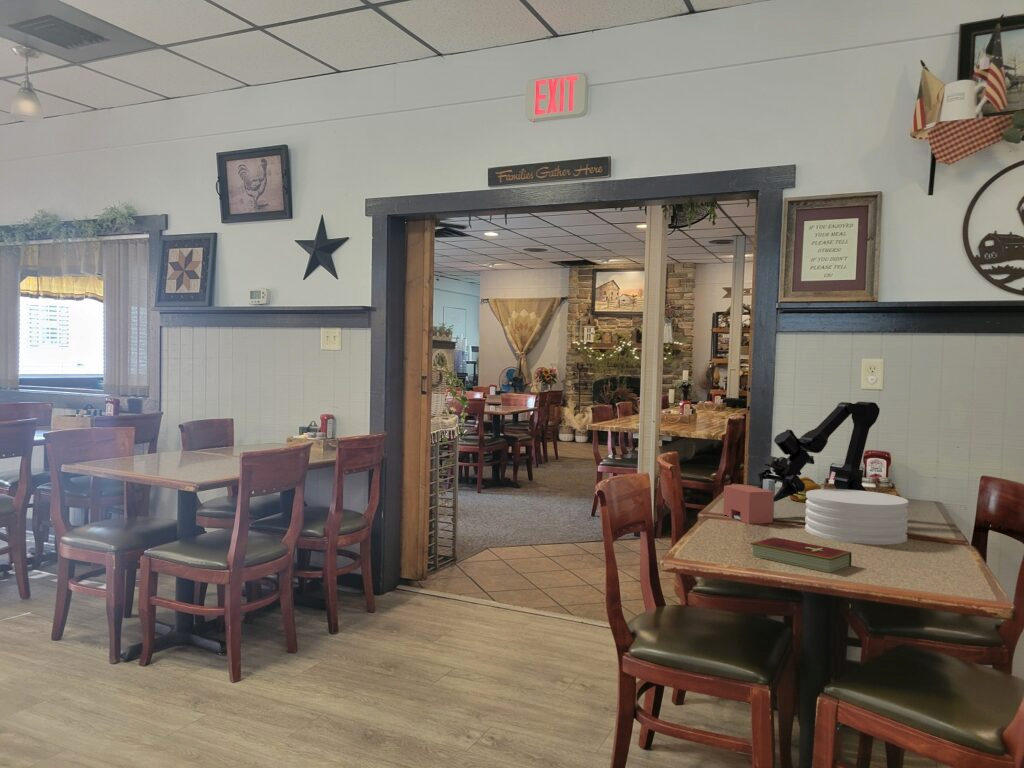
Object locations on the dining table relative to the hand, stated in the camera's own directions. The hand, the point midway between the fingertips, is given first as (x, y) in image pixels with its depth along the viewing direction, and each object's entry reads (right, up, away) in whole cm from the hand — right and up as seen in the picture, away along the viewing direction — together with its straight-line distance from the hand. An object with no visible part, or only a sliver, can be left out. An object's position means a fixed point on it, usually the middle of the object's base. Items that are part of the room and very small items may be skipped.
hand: (764, 498), depth 245 cm
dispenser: (-6, -7, -2) cm, 9 cm away
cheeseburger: (+28, -7, +37) cm, 46 cm away
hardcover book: (-10, -8, -56) cm, 57 cm away
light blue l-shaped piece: (-4, -6, -1) cm, 8 cm away
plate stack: (+20, -8, -21) cm, 30 cm away
